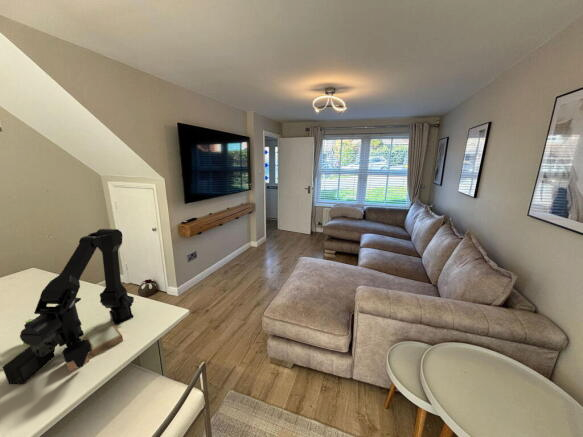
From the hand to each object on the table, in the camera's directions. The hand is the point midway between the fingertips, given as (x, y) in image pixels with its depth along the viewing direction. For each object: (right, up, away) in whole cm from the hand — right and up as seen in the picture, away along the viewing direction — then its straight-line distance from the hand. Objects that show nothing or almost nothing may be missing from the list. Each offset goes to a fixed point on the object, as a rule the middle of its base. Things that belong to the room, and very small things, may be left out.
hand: (77, 359), depth 80 cm
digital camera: (-11, -2, -3) cm, 11 cm away
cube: (0, -1, 0) cm, 1 cm away
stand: (+2, +1, +9) cm, 9 cm away
